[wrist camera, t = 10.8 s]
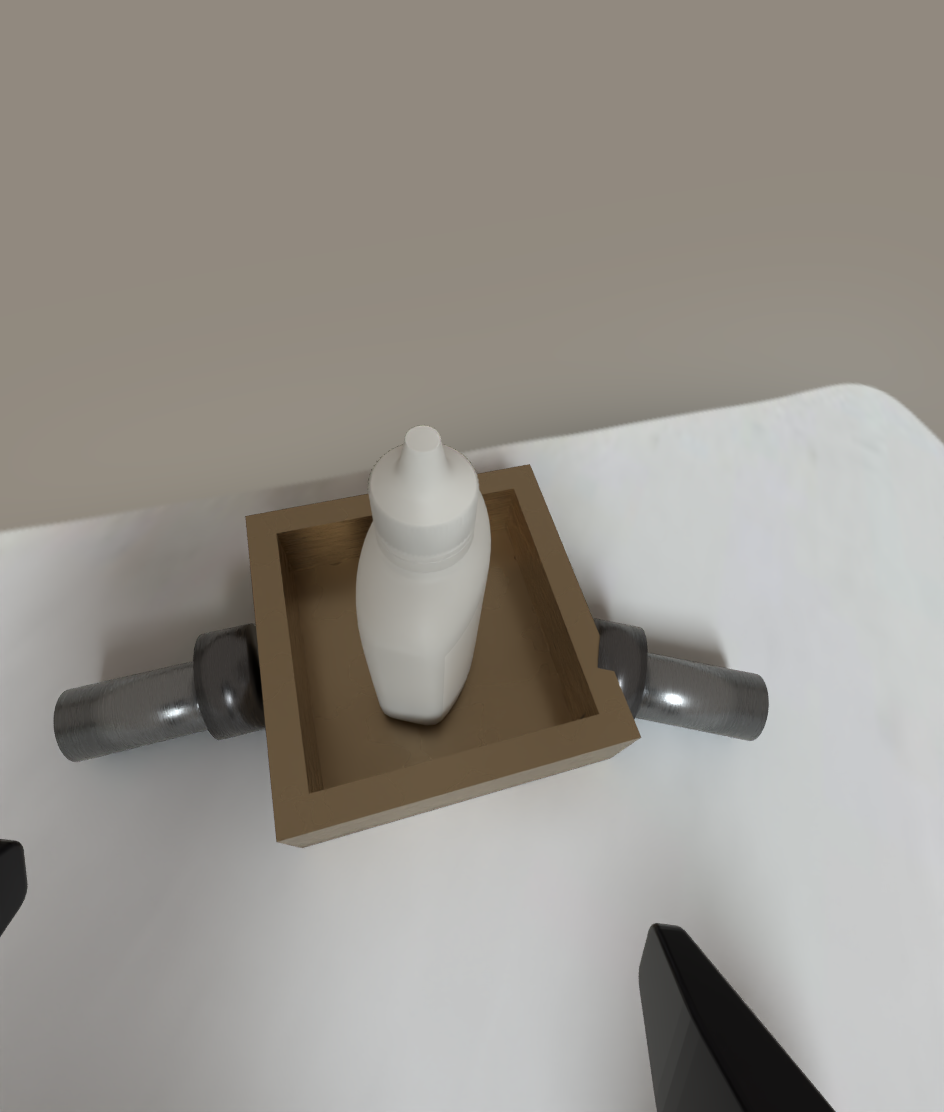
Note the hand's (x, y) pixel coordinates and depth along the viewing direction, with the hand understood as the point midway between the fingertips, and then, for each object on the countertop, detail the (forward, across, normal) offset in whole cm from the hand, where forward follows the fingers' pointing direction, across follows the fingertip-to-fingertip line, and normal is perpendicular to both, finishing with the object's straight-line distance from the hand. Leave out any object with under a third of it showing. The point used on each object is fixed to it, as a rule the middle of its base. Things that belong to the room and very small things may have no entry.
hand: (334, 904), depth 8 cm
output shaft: (+13, -9, +3) cm, 16 cm away
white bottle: (+13, 0, +2) cm, 14 cm away
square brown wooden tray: (+14, 0, +3) cm, 14 cm away
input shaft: (+11, +8, +5) cm, 15 cm away
